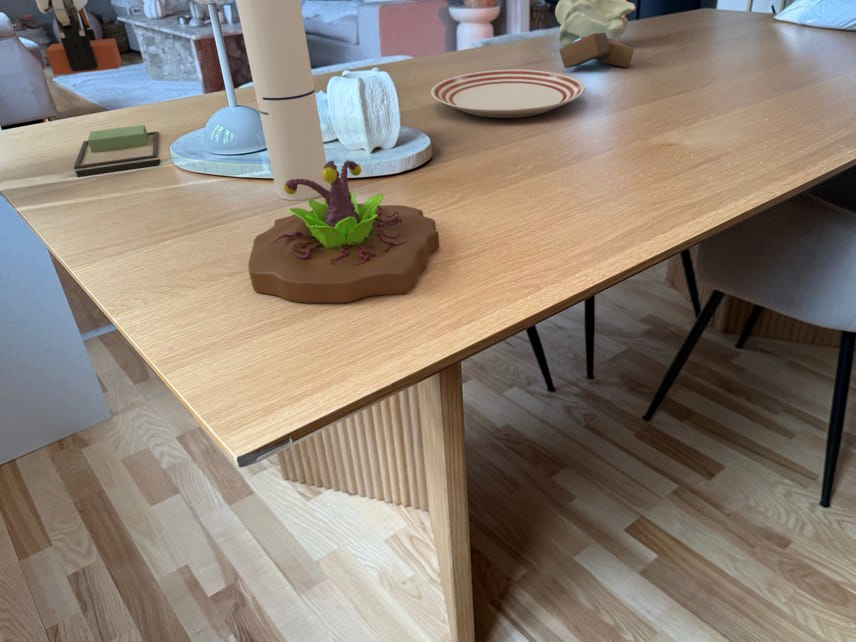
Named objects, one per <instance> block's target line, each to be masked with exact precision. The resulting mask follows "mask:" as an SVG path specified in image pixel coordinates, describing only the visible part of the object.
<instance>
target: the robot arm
mask: <svg viewBox="0 0 856 642" xmlns="http://www.w3.org/2000/svg"><path fill="white" fill-rule="evenodd" d="M35 2H36V3H35V4H36V6H37V8H38V10H39V12H41V13H42V14H44V15H47V14H49V13H50V12H53V15H54V19H55V23H56V26H57V30H58V33H59V36H60V42H61V43H62V44H63V47H64V50H65V53H66V56H67V59H68V62H69V64H70V67H71V69H72V70H73V71H83V70H92V69H97V67H98V65H97V61H96V58H95V55H94V52H93V49H92V46H91V43H90V40H97V38H96V34H95V31H94V29H93V28H92V26H91V21H90V19H89V16H88V14H87V12H86V8H85V7H86V5H87V4H88V0H35Z"/></svg>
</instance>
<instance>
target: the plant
mask: <svg viewBox="0 0 856 642" xmlns="http://www.w3.org/2000/svg"><path fill="white" fill-rule="evenodd" d="M340 171H341V173H340V172H339V171H338V167H337V165H336V164H335V162H334V160H329V161H327V163H326V164H325V166H324V169H323V171H322V177H323V179H324V180H325V181H326V182H328V183H330V186H331V188H330V190H329V191H328V190H326V189H325V188H324V187H322V186H321V185H318V184H317V183H315V182H314V181H310V180H306V179H291V180H288V181H287V182H286V183H285V185H284V190H285V191H286V192H287V193H288V194H294V193H296V191H297V185H299V184H301V185H306V186H309V187H311V188H312V189H313V190H315V191H317V192H318V193H319V194H321V197H322V198H324V201H323V202H320V201H318V200H314V199H312V198H311V199H307V200H308V202H307V204H308V206H309V207H310V208H311V210H307V209H304V208H299V207H297V208H296V207H294V208H291V207H290V208H289V207H288V211H289V213H291V214H292V215H288V216H285V217H282V218H278V219H275V220H274V222H273V223H274V225H273V226H272V227H271V228H269V229H267V230H266V231H264V232H262V233H261V234H258V235H256V236H255V238H254V239H253V245H252V249H251V252H250V256H249V259H248V274H249V278H250V281H251V286H252V288H253V291H254V292H255V293H259V294H265V295H272V296H277V297H280V298H283V299H284V300H287V301H290V302H297V303H308V304H309V303H311V304H312V303H316V304H317V303H326V304H327V303H328V304H329V303H334V304H336V303H337V304H345V303H351V302H355V301H357V300H361V299H363V298H367V297H371V296H373V297H374V296H382V295H384V296H385V295H407V294H408V292H409V291H410V290H411V289H412V288H415V286H416V285H417V283H418V280H419V277H420V275H421V274H422V273H423V272H424V271H425V270H426V268H427V266H428V262H429V257H430V255H432V253H434V252H435V251H437V250H439V249H440V237H439V231H438V230H437V226H436V221H435V219H433V218H431V217H426V216H424V212H423V210H422V209H420V208H416V207H413V206H408V205H399V204H392V205H389V204H386V205H385V204H382V205H381V203H382V201H383V200H384V194H383V193H380V194H376V195H373V196H371V197H370V198H368V199H367V200H366V201H364V202H363V203H358V202H357V199H356V195H355V193H354V192H353V191H350V190H349V189H350V187H349V182H348V173H349V174H351V175H352V176H355V177H356V176H357V177H358V176H359V175H361V173H362V167H361V166H360V164H358V163H357V162H355V161H353V160H348V159H347V160H346V161H344V162H343V165H342V166H341V170H340ZM348 171H349V172H348Z"/></svg>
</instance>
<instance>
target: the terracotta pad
mask: <svg viewBox="0 0 856 642" xmlns="http://www.w3.org/2000/svg"><path fill="white" fill-rule="evenodd" d="M90 43H91V46H92V49H93V52H94V55H95V58H96V61H97V65H98V67H97V69H92V70H83V71H73V70H72V69H71V67H70V64H69V62H68V59H67V56H66V53H65V50H64V47H63V44H62V42H60V43H52V44H50V45H49V46H48V47H47V48H46V50H45V55H46V57H47V60H48V63H49V66H50V68H51V71H52V74H53V76H59V75H69V74H77V73H79V74H80V73H88V72H96V71H107V70H108V71H109V70H115V69H116V70H117V69H120V67H121V64H122V61H123V60H122V57H121V55H120V51H119V48H118V45H117V44H118V43H117V41H116V38H114V37H113V38H103V39H96V40H90Z"/></svg>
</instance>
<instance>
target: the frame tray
mask: <svg viewBox="0 0 856 642" xmlns="http://www.w3.org/2000/svg"><path fill="white" fill-rule="evenodd" d="M147 134H148V137H149V136H153V142H152V143H153V144H152V154H149V155H142V156H135V157H129V158H121V159H120V158H119V159H113V160H106V161H99V162H93V163H85V164H82V161H83V159H84V157H85V153H86V151H87V148H88V146H89V144H88V140H83V141H82V144H81V147H80V150H79V153H78V155H77V157H76V160H75V163H74V165H73V169H74V170H75V175H76V177H77V178H83V177H91V176H98V175H105V174H112V173H119V172H126V171H132V170H140V169H148V168H154V167H160V165H161V159H160V158H158V153H159V152H158V151H159V137H160V136H159V135H160V134H159V131H158V130H156V131H150V132H147Z"/></svg>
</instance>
